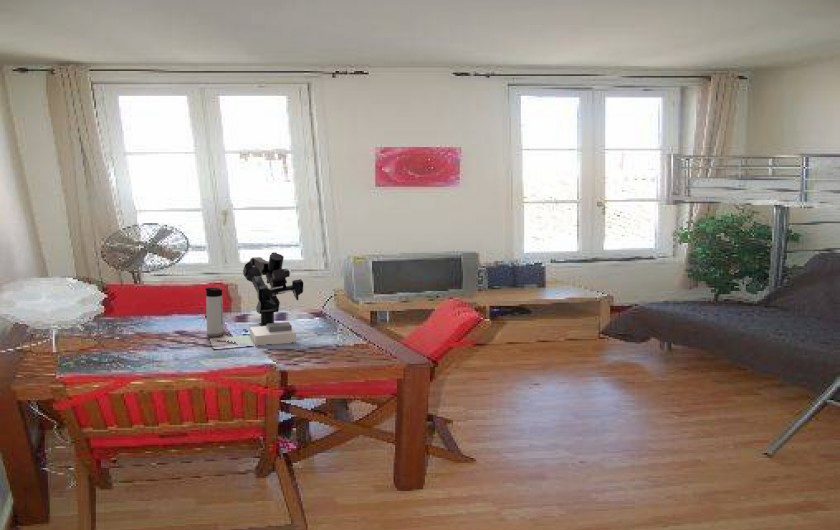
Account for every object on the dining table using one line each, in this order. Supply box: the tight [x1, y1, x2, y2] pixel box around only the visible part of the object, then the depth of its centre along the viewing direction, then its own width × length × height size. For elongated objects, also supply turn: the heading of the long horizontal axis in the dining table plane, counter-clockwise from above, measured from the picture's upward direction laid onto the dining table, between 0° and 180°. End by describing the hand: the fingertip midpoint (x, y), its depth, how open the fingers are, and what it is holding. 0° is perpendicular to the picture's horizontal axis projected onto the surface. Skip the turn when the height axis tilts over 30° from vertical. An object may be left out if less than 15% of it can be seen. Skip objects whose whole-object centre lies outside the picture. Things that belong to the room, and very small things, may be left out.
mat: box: [209, 335, 255, 347], centre depth 208 cm, size 15×15×1 cm
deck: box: [249, 325, 297, 346], centre depth 215 cm, size 14×16×4 cm
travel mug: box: [205, 287, 224, 337], centre depth 217 cm, size 6×7×20 cm
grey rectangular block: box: [266, 321, 293, 332], centre depth 216 cm, size 9×6×2 cm, turn 116°
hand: (286, 301), depth 213 cm, fingers open, 9 cm apart
